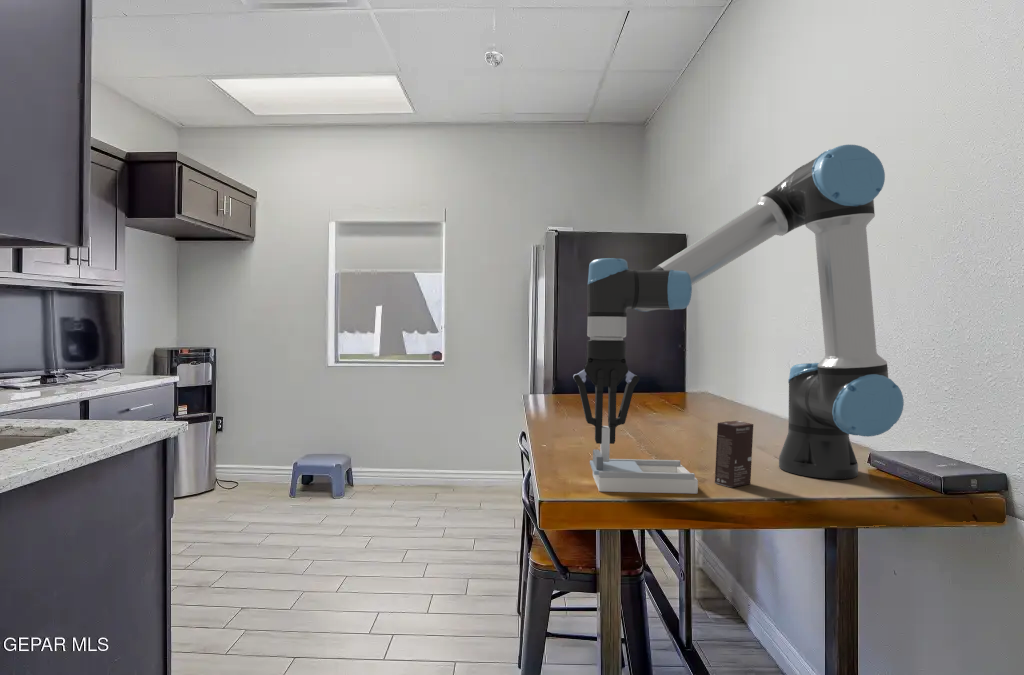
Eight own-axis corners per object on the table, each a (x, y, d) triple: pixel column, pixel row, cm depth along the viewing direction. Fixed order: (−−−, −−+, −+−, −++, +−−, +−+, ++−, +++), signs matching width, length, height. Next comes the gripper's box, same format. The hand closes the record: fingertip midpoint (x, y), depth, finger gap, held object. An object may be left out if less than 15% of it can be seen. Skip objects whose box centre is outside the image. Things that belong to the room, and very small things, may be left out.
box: (733, 488, 112) (735, 425, 112) (714, 483, 116) (715, 422, 115) (753, 484, 115) (754, 423, 115) (733, 479, 119) (734, 419, 119)
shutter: (634, 464, 119) (634, 449, 119) (642, 475, 110) (643, 459, 110) (589, 463, 119) (590, 448, 119) (594, 474, 110) (594, 458, 110)
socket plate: (681, 477, 120) (681, 459, 120) (697, 493, 108) (697, 474, 108) (592, 475, 121) (592, 458, 121) (599, 491, 109) (599, 472, 109)
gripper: (636, 339, 118) (635, 456, 118) (571, 338, 118) (569, 455, 119) (643, 339, 110) (641, 465, 111) (574, 338, 111) (572, 463, 111)
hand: (604, 460), depth 115 cm, fingers closed
